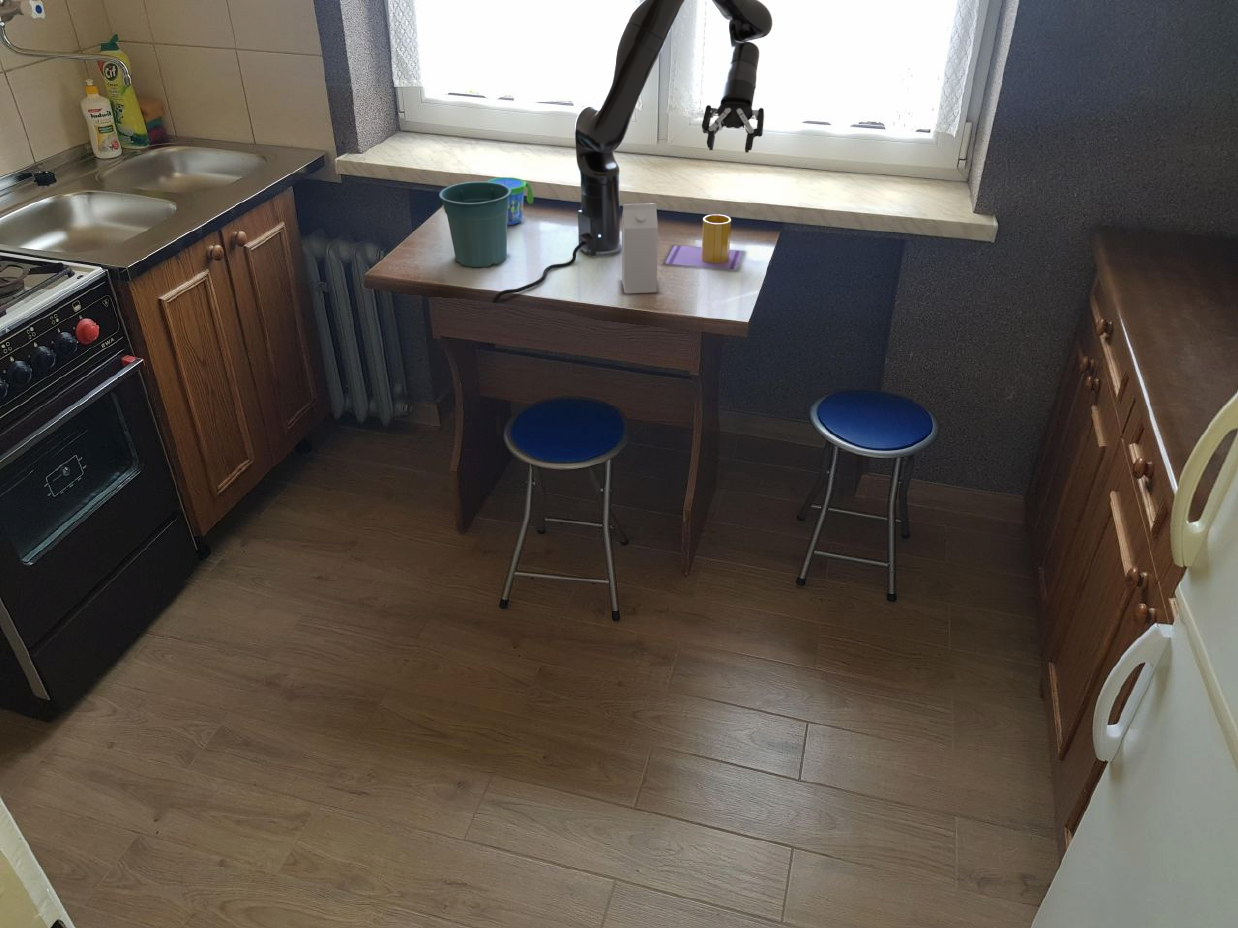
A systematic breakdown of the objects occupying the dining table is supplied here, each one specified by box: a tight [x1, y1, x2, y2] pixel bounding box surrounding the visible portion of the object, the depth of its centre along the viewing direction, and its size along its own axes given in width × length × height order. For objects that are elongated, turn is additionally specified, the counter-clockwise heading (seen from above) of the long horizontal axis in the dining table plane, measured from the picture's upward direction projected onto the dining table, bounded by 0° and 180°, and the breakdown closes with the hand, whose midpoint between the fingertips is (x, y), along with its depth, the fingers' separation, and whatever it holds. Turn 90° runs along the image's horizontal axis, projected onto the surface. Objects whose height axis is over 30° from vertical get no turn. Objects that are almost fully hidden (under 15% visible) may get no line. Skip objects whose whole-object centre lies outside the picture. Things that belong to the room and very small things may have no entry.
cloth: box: [664, 244, 744, 271], centre depth 228 cm, size 17×12×1 cm
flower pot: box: [438, 181, 511, 268], centre depth 224 cm, size 16×16×16 cm
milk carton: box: [621, 202, 659, 294], centre depth 208 cm, size 7×7×19 cm
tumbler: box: [701, 214, 732, 263], centre depth 224 cm, size 6×6×10 cm
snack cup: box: [485, 176, 534, 227], centre depth 246 cm, size 16×10×10 cm
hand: (728, 150), depth 224 cm, fingers open, 8 cm apart
